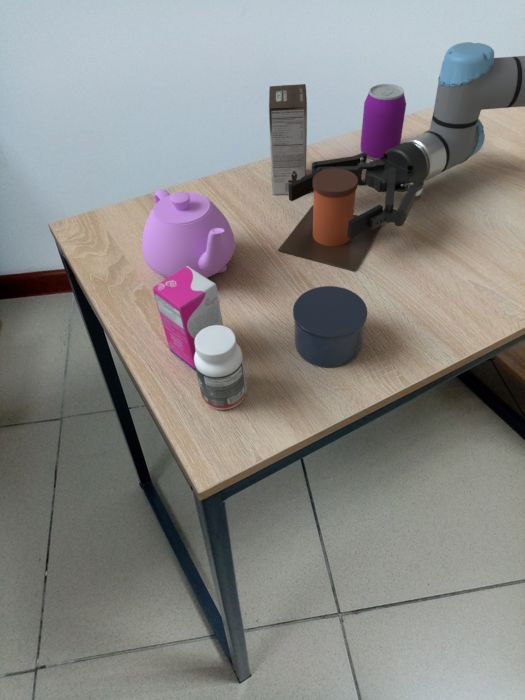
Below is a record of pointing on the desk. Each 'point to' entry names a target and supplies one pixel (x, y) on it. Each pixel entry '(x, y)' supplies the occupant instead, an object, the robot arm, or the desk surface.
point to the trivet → (336, 256)
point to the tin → (329, 326)
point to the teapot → (186, 235)
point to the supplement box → (186, 310)
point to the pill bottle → (219, 367)
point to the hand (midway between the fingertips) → (318, 210)
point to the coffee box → (287, 135)
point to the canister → (333, 205)
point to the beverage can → (382, 120)
